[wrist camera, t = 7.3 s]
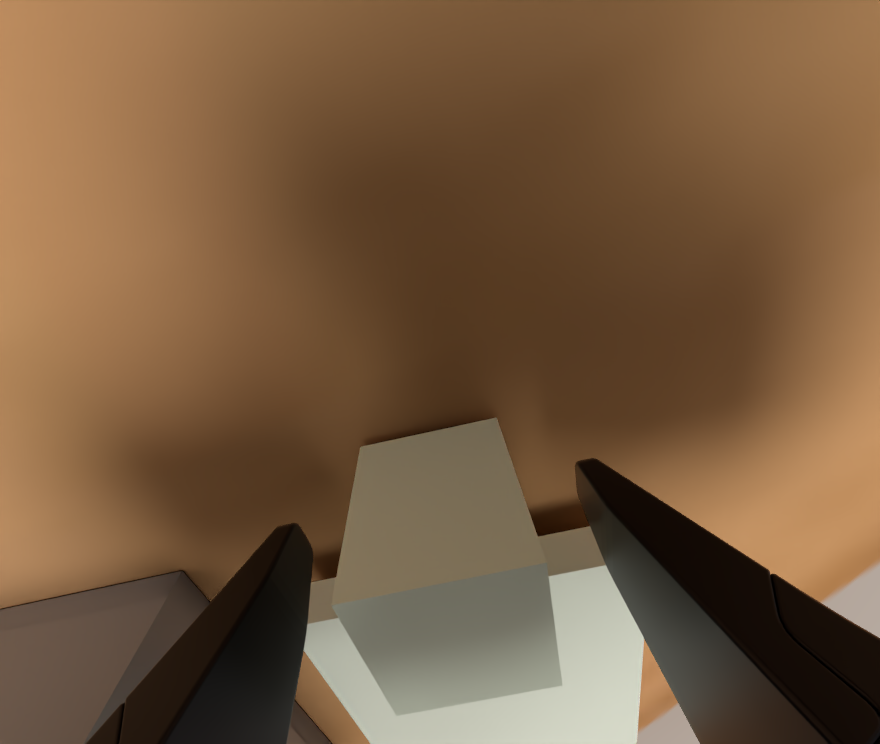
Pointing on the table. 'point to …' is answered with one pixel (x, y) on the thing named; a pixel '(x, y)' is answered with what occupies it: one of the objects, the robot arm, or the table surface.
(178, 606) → the tub
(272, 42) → the table surface
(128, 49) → the table surface
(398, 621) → the cube on cream block
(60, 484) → the table surface
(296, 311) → the table surface
